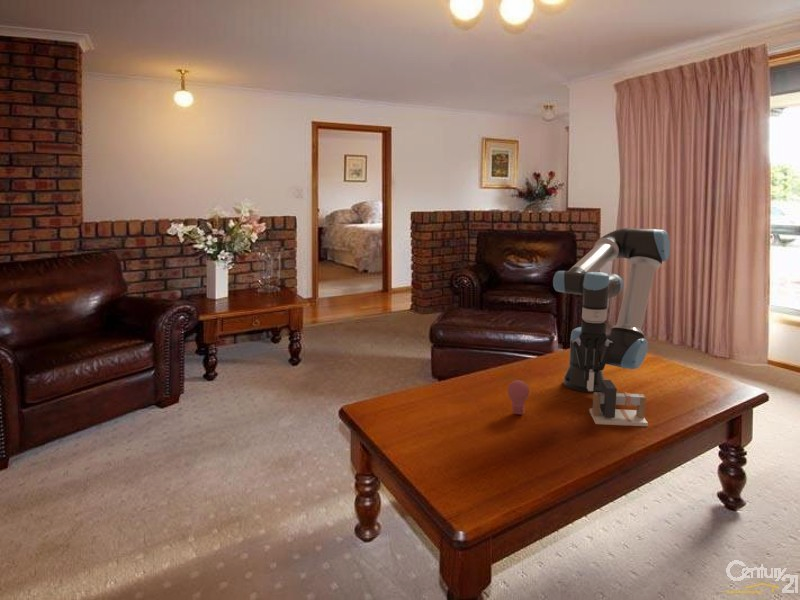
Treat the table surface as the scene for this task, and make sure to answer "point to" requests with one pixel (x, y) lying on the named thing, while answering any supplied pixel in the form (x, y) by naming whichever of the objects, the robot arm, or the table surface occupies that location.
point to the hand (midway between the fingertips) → (589, 389)
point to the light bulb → (518, 395)
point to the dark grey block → (608, 398)
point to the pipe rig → (620, 410)
